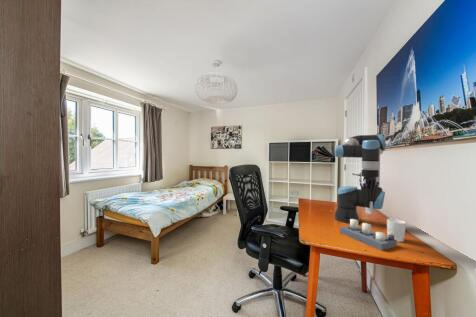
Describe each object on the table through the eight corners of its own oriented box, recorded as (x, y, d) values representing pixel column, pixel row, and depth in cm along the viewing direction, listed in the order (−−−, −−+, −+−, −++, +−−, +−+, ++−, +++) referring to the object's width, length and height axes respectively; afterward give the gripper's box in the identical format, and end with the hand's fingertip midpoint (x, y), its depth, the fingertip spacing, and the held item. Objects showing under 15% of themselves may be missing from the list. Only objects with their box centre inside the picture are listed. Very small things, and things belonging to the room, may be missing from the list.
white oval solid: (365, 231, 105) (365, 222, 104) (372, 234, 101) (372, 225, 101) (360, 232, 103) (360, 223, 103) (367, 235, 99) (367, 225, 99)
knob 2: (378, 240, 98) (378, 231, 98) (387, 244, 94) (387, 234, 94) (373, 242, 97) (373, 232, 96) (382, 245, 93) (382, 235, 93)
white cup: (405, 239, 102) (406, 221, 102) (404, 244, 97) (405, 224, 97) (387, 235, 108) (387, 217, 108) (385, 239, 102) (385, 220, 102)
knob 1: (352, 227, 111) (353, 218, 111) (359, 229, 107) (359, 220, 107) (348, 227, 109) (348, 219, 109) (354, 230, 106) (355, 221, 106)
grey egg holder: (354, 230, 114) (354, 219, 114) (396, 246, 94) (396, 233, 94) (340, 232, 110) (340, 222, 110) (381, 250, 89) (381, 237, 89)
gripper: (370, 168, 107) (369, 210, 108) (355, 169, 101) (353, 212, 102) (385, 169, 100) (383, 214, 101) (369, 170, 95) (368, 217, 95)
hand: (368, 213), depth 101 cm, fingers closed
